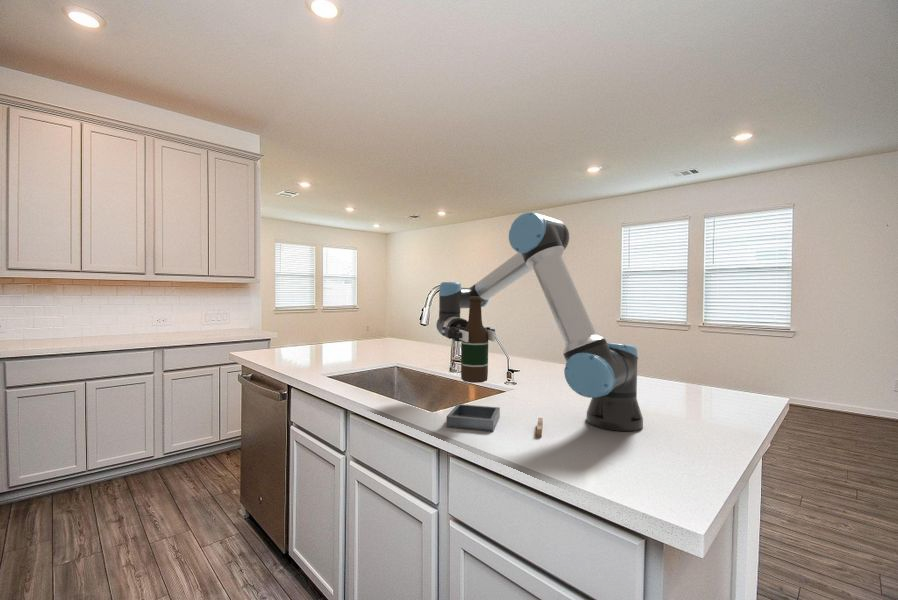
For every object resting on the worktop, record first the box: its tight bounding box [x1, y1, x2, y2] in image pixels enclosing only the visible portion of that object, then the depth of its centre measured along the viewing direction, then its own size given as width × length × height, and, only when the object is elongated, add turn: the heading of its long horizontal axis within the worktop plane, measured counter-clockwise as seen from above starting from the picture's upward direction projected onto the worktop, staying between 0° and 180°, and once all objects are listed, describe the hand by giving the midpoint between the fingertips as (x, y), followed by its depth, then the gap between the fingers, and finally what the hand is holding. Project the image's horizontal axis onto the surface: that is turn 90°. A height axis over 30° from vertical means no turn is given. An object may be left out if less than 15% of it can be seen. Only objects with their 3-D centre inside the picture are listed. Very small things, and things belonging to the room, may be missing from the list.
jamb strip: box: [536, 417, 544, 438], centre depth 109 cm, size 10×1×2 cm, turn 165°
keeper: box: [445, 403, 501, 433], centre depth 116 cm, size 13×13×3 cm
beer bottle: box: [460, 296, 489, 384], centre depth 116 cm, size 8×8×24 cm
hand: (480, 336), depth 111 cm, fingers closed on beer bottle, 7 cm apart
